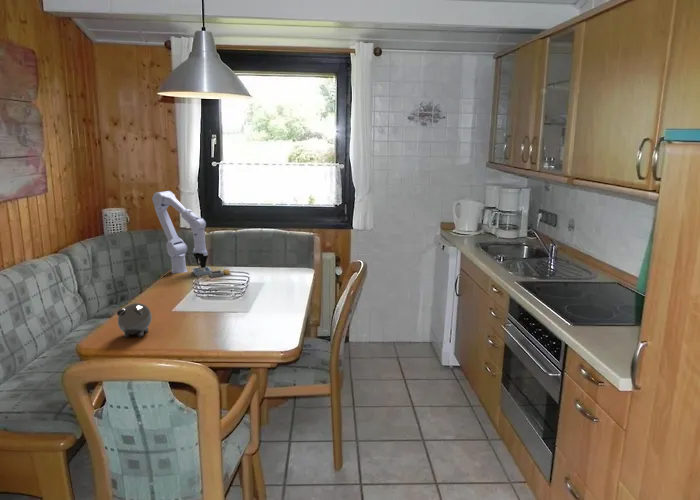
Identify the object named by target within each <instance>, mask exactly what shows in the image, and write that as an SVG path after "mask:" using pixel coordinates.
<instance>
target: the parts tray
mask: <svg viewBox="0 0 700 500" xmlns="http://www.w3.org/2000/svg"><path fill="white" fill-rule="evenodd" d="M205 270H206V271H201V272H199V267H194V268H192V273H193V275H195V277H199V275H201V276H208V275H209V272H212V271H213V270H212V269H211V268H210V267H209V266H206V267H205ZM209 276H210V275H209Z"/></svg>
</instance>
